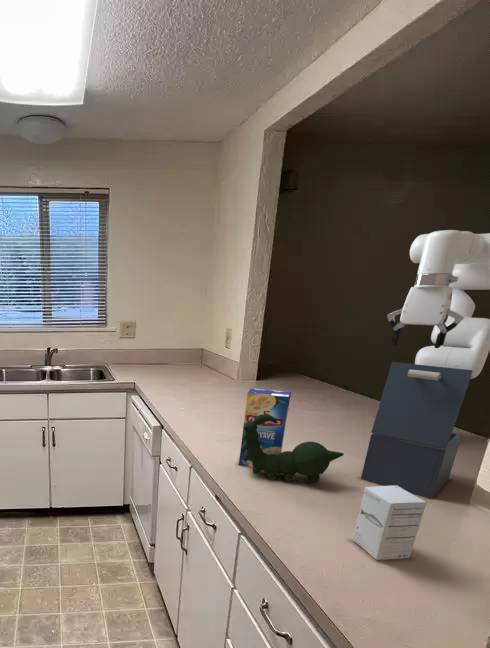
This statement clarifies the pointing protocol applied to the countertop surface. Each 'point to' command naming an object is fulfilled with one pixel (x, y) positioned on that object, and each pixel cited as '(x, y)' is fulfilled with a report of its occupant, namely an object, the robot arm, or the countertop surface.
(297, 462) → the toy figurine
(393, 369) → the box lid
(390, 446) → the trash can
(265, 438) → the blue food box
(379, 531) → the white packaging box
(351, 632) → the countertop surface
